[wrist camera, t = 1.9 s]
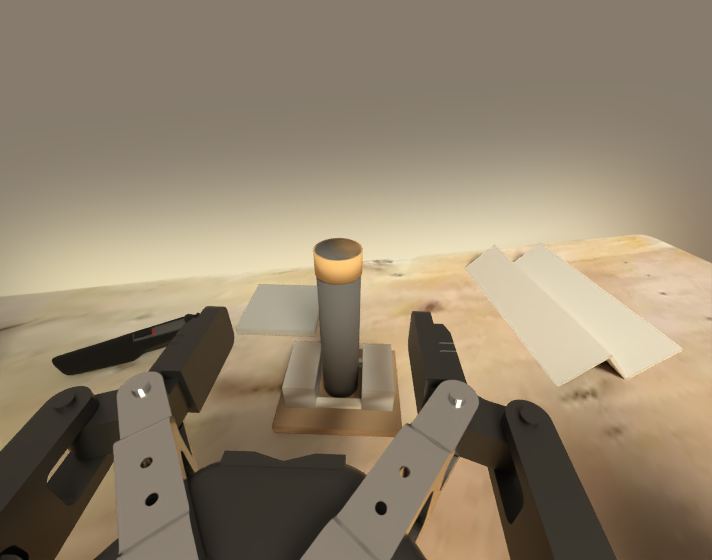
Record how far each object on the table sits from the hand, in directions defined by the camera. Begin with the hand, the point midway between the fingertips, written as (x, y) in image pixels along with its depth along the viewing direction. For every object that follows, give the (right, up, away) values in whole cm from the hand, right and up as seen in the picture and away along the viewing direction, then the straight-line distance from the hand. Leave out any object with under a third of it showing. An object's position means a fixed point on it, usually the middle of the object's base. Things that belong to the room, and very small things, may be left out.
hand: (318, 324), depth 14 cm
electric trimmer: (-24, -7, +25) cm, 35 cm away
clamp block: (0, -10, +20) cm, 22 cm away
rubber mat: (-9, -2, +31) cm, 32 cm away
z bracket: (+29, -3, +32) cm, 43 cm away
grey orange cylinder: (0, -9, +19) cm, 21 cm away
